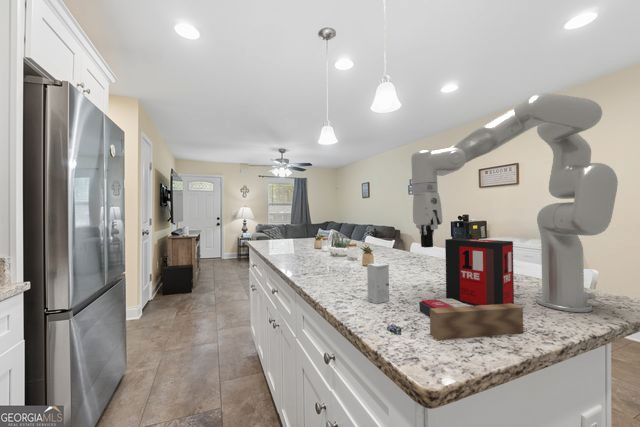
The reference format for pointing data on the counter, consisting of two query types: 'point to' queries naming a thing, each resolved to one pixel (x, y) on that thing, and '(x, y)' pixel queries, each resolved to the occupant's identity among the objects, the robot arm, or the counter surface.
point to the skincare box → (378, 282)
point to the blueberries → (395, 329)
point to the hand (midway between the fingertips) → (427, 246)
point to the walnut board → (475, 321)
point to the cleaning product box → (479, 271)
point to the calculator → (438, 304)
